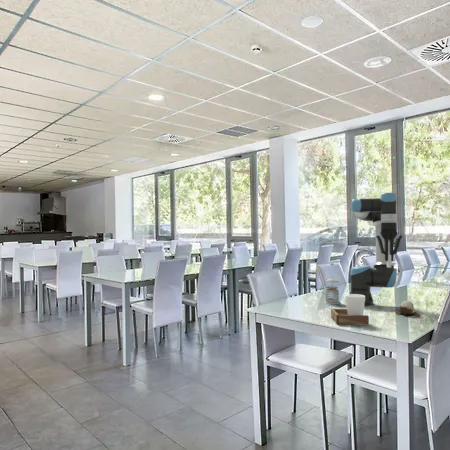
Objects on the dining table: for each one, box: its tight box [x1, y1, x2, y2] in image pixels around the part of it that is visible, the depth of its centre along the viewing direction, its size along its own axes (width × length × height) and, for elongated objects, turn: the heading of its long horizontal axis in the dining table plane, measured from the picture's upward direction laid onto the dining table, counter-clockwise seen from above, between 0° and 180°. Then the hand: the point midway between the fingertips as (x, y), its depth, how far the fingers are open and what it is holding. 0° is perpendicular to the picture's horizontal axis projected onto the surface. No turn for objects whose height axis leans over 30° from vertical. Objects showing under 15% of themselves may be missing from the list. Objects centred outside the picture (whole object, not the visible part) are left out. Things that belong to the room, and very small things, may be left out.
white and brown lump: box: [395, 300, 421, 317], centre depth 212 cm, size 12×10×10 cm
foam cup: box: [344, 293, 365, 315], centre depth 196 cm, size 10×9×13 cm
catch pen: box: [330, 308, 370, 326], centre depth 197 cm, size 16×15×4 cm
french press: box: [320, 262, 341, 305], centre depth 247 cm, size 10×12×25 cm
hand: (389, 267), depth 204 cm, fingers closed
